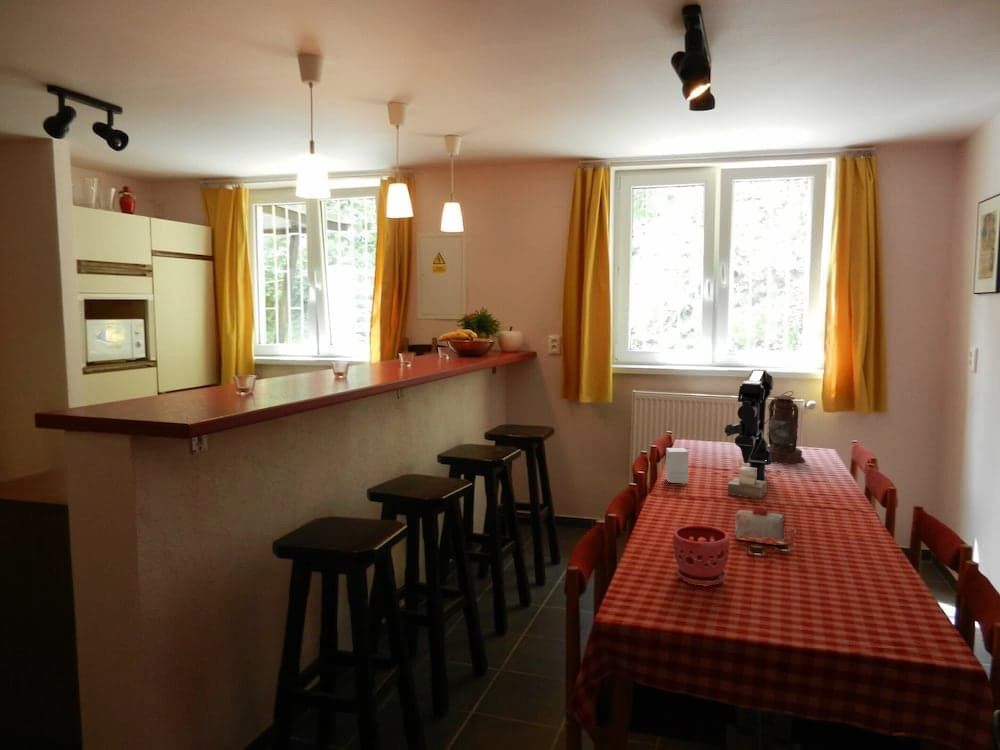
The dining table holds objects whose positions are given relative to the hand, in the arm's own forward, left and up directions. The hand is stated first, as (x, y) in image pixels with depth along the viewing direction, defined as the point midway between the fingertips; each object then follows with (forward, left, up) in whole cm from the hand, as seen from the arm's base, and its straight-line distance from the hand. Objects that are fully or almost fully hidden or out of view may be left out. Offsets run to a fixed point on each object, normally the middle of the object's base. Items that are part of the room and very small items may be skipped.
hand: (748, 460), depth 246 cm
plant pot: (+88, +7, -12) cm, 89 cm away
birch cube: (0, 0, -8) cm, 8 cm away
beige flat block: (0, 0, -12) cm, 12 cm away
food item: (+50, +14, -12) cm, 54 cm away
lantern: (-66, 0, -12) cm, 67 cm away
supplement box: (-2, -27, -12) cm, 29 cm away
